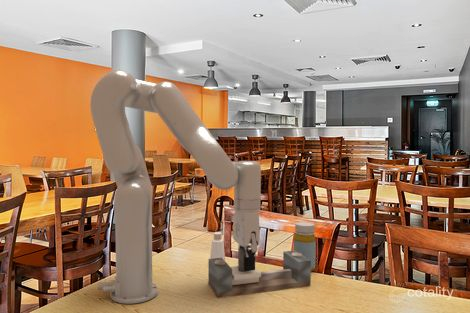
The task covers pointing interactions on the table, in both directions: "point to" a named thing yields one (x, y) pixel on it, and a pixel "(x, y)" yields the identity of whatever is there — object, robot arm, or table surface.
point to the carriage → (243, 271)
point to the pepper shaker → (217, 246)
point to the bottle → (305, 241)
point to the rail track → (290, 277)
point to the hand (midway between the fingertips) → (246, 266)
